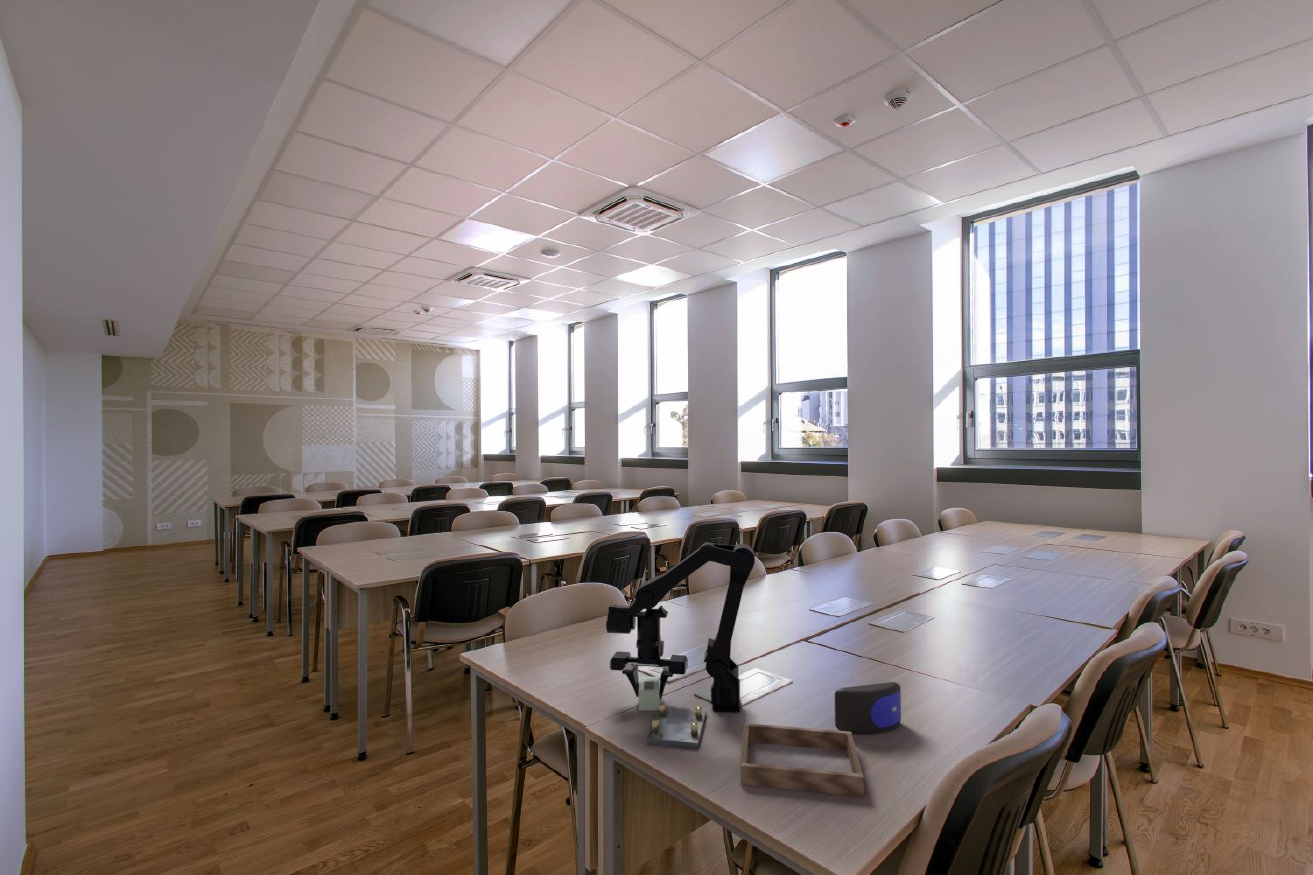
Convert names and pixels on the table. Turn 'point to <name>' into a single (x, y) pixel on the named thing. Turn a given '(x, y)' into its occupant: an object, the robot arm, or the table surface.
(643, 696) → the pale green block
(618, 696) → the table surface
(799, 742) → the storage tray
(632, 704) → the table surface
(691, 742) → the chassis
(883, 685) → the black and blue case
